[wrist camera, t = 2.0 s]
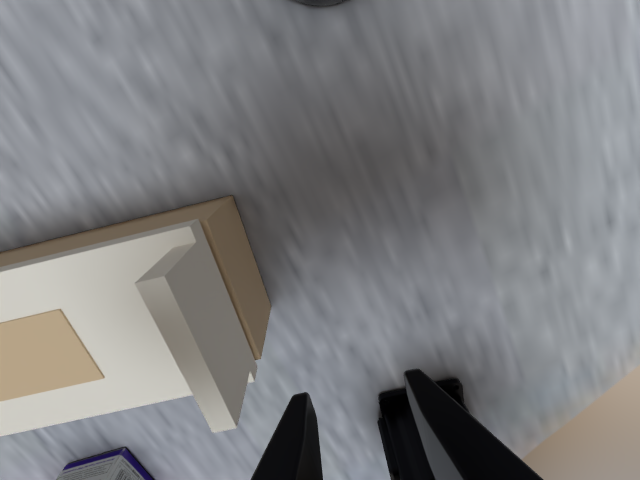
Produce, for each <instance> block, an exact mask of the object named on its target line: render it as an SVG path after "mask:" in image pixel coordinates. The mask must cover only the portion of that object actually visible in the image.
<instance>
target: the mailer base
mask: <svg viewBox="0 0 640 480" xmlns="http://www.w3.org/2000/svg"><path fill="white" fill-rule="evenodd" d="M195 219H199V222H200V224H201V227H202V229H203V232H204V234H205V237H206V239H207V242H208V244H209V247H210V249H211V252H212V254H213V257H214V259H215V262H216V264H217V267H218V269H219V272H220V274H221V277H222V279H223V282H224V284H225V287H226V289H227V292H228V294H229V297H230V299H231V302H232V304H233V307H234V309H235V312H236V314H237V317H238V319H239V322H240V324H241V327H242V329H243V332H244V334H245V337H246V339H247V342H248V344H249V347H250V349H251V352H252V354H253V357H254V359H255V360H258V359H261V356H262V350H263V345H264V340H265V335H266V330H267V325H268V320H269V315H270V310H271V305H270V302H269V299H268V296H267V293H266V290H265V287H264V284H263V282H262V279H261V276H260V273H259V270H258V267H257V264H256V261H255V259H254V256H253V253H252V250H251V247H250V244H249V241H248V238H247V236H246V233H245V230H244V227H243V224H242V221H241V218H240V215H239V213H238V210H237V207H236V204H235V201H234V198H233V195H230V196H226V197H222V198H218V199H214V200H210V201H206V202H202V203H198V204H194V205H190V206H186V207H182V208H178V209H174V210H170V211H166V212H162V213H157V214H153V215H149V216H145V217H141V218H137V219H133V220H129V221H125V222H121V223H117V224H113V225H109V226H105V227H101V228H97V229H93V230H89V231H85V232H81V233H76V234H72V235H68V236H64V237H60V238H56V239H52V240H48V241H44V242H40V243H36V244H32V245H28V246H24V247H20V248H16V249H12V250H8V251H4V252H0V267H3V266H7V265H11V264H15V263H19V262H23V261H27V260H31V259H35V258H39V257H43V256H48V255H52V254H56V253H60V252H64V251H68V250H72V249H76V248H80V247H84V246H88V245H93V244H97V243H101V242H105V241H109V240H113V239H117V238H121V237H125V236H129V235H133V234H138V233H142V232H146V231H150V230H154V229H158V228H162V227H166V226H170V225H174V224H178V223H183V222H187V221H191V220H195Z"/></svg>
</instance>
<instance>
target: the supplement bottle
mask: <svg viewBox="0 0 640 480" xmlns="http://www.w3.org/2000/svg"><path fill="white" fill-rule="evenodd" d="M296 1H298V2H301V3H304V4H308V5H315V6H326V5H333V4H337V3H340V2H343V1H345V0H296Z"/></svg>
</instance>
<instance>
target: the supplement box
mask: <svg viewBox="0 0 640 480" xmlns="http://www.w3.org/2000/svg"><path fill="white" fill-rule="evenodd" d="M56 480H153V479H152V478H151V477H150V475H149V474H148V473H147V472H146V471H145V470H144V469H143V468H142V466H141V465H140V464H139V463H138V462H137V461H136V460H135V458H134V457H133V456H132V455H131V454H130V453H129V452H128V450H127V449H126V448H121V449H117V450H113V451H110V452H107V453H104V454H100V455H97V456H94V457H90V458H86V459H83V460H80V461H76V462H73V463H70V464H68V465H66V466H65V468H64V469H63V471H62V472H61V474H60V475H59V476H58V478H57V479H56Z"/></svg>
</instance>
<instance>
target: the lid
mask: <svg viewBox="0 0 640 480" xmlns="http://www.w3.org/2000/svg"><path fill="white" fill-rule="evenodd" d="M256 372H257V364H256V362H255V359H254V357H253V354H252V352H251V349H250V347H249V344H248V342H247V339H246V337H245V334H244V332H243V329H242V327H241V324H240V322H239V319H238V317H237V314H236V312H235V309H234V307H233V304H232V302H231V299H230V297H229V294H228V292H227V289H226V287H225V284H224V282H223V279H222V277H221V274H220V272H219V269H218V267H217V264H216V262H215V259H214V257H213V254H212V252H211V249H210V247H209V244H208V242H207V239H206V237H205V234H204V232H203V229H202V227H201V224H200V222H199V219H195V220H191V221H187V222H183V223H178V224H174V225H170V226H166V227H162V228H158V229H154V230H150V231H146V232H142V233H138V234H133V235H129V236H125V237H121V238H117V239H113V240H109V241H105V242H101V243H97V244H93V245H88V246H84V247H80V248H76V249H72V250H68V251H64V252H60V253H56V254H52V255H48V256H43V257H39V258H35V259H31V260H27V261H23V262H19V263H15V264H11V265H7V266H3V267H0V436H5V435H9V434H14V433H18V432H23V431H28V430H32V429H37V428H42V427H46V426H51V425H56V424H60V423H65V422H70V421H74V420H79V419H83V418H88V417H93V416H97V415H102V414H107V413H111V412H116V411H121V410H125V409H130V408H134V407H139V406H144V405H148V404H153V403H158V402H162V401H167V400H172V399H176V398H181V397H185V396H190V395H193V396H194V398H195V400H196V402H197V404H198V406H199V408H200V409H201V411H202V413H203V415H204V417H205V419H206V421H207V423H208V425H209V427H210V429H211V431H212V432H213V433H216V432H220V431H225V430H230V429H235V428H237V425H238V421H239V417H240V412H241V408H242V404H243V399H244V395H245V391H246V386H247V383H250V382H254V381H255V377H256Z"/></svg>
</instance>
